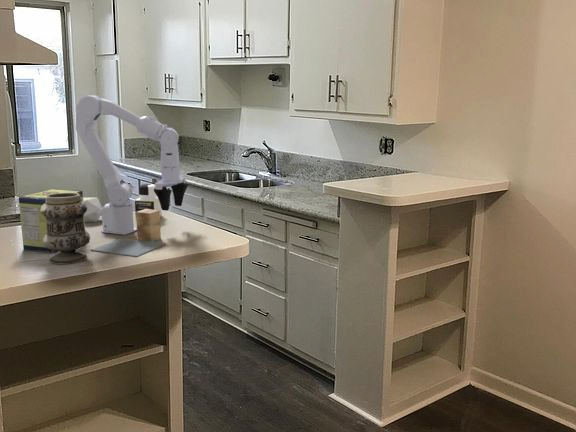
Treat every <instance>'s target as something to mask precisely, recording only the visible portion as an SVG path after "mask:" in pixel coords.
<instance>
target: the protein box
mask: <svg viewBox="0 0 576 432" xmlns="http://www.w3.org/2000/svg"><path fill="white" fill-rule="evenodd" d="M68 192H70V193H78V194H79V195H80V198H81V201H83V198H84V196H83V190H75V189H74V190H73V189H63V188H52V189H49V190H45V191H41V192H37V193H32V194H28V195H23V196H19V197H18V207H19V217H20V225H21V236H22V237H21V238H22V246H23V247H22V249H23V250H24V251H32V252H33V251H34V252H43V253H55V252H56V251H54V250H51V249H48V248H47V247H46V246H45V245H44V244H43V237H44V236H45V235H46V234H47V222H46V217H45V216H43V215H42V214H41V207H42V205H43V204H45V203H46V196H47V195H49V194H54V193H68ZM83 220H84V214H83ZM85 223H86V222H85V220H84V228H85V229H86V224H85Z"/></svg>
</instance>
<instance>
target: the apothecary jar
mask: <svg viewBox="0 0 576 432" xmlns="http://www.w3.org/2000/svg"><path fill="white" fill-rule="evenodd" d="M86 211H87V205H86V204H85V203H84V202H83V201H81V198H80V195H79V194H78V193H70V192H68V193H54V194H49V195H47V196H46V203H45V204H43V205H42V207H41V214H42V215H43V216H45V217H46V222H47V234H46V235H45V236H44V237H43V244H44V245H45V246H46V247H47V248H48V249H51V250H54V251H55V252H58V253H56V254H54V255H52V256H51V257H50V258H49V261H48V262H49V263H51V264H55V265H70V264H75V263H79V262H83V261H85V260H87V259H88V254H86V253H84V252H80V251H77V250H79V249H81V248H83V247H86V245H88V244H89V243H90V241H91V235H90V233H89V232H88V231H87V230H86V227H85V228H84V220H83V214H84V213H86Z"/></svg>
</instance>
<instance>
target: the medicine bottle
mask: <svg viewBox="0 0 576 432" xmlns="http://www.w3.org/2000/svg"><path fill="white" fill-rule="evenodd" d="M154 188H155V184H152V183H143V184H141V185H139V186H138V198H136V199H135V200H134V208H135V209H134V212H135V213H134V214H135V215H136V212H138V211H141V210H144V209H152V210H160V218H161V217H162V216H163V213H162V211H163V210H162V208H161V205H160V202H159V199H158V197H157V195H156V194H155V192H154Z"/></svg>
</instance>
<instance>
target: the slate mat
mask: <svg viewBox="0 0 576 432" xmlns="http://www.w3.org/2000/svg"><path fill="white" fill-rule="evenodd" d="M166 245H167V244H166V243H163V242H156V241H154V242H148V241H140V240H138V239H131V238H123V237H122V238H118V239H116V240H113V241H111V242H108V243H105V244H102V245H100V246H96V247H94V248H91V249H90V251H91V252H99V253H103V254H104V253H106V254H113V255H120V256H126V257H127V256H128V257H134V258H135V257H136V258H138V257H140V256H142V255H145V254H147V253H149V252H151V251H153V250H156V249H159V248H160V247H163V246H166Z"/></svg>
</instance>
